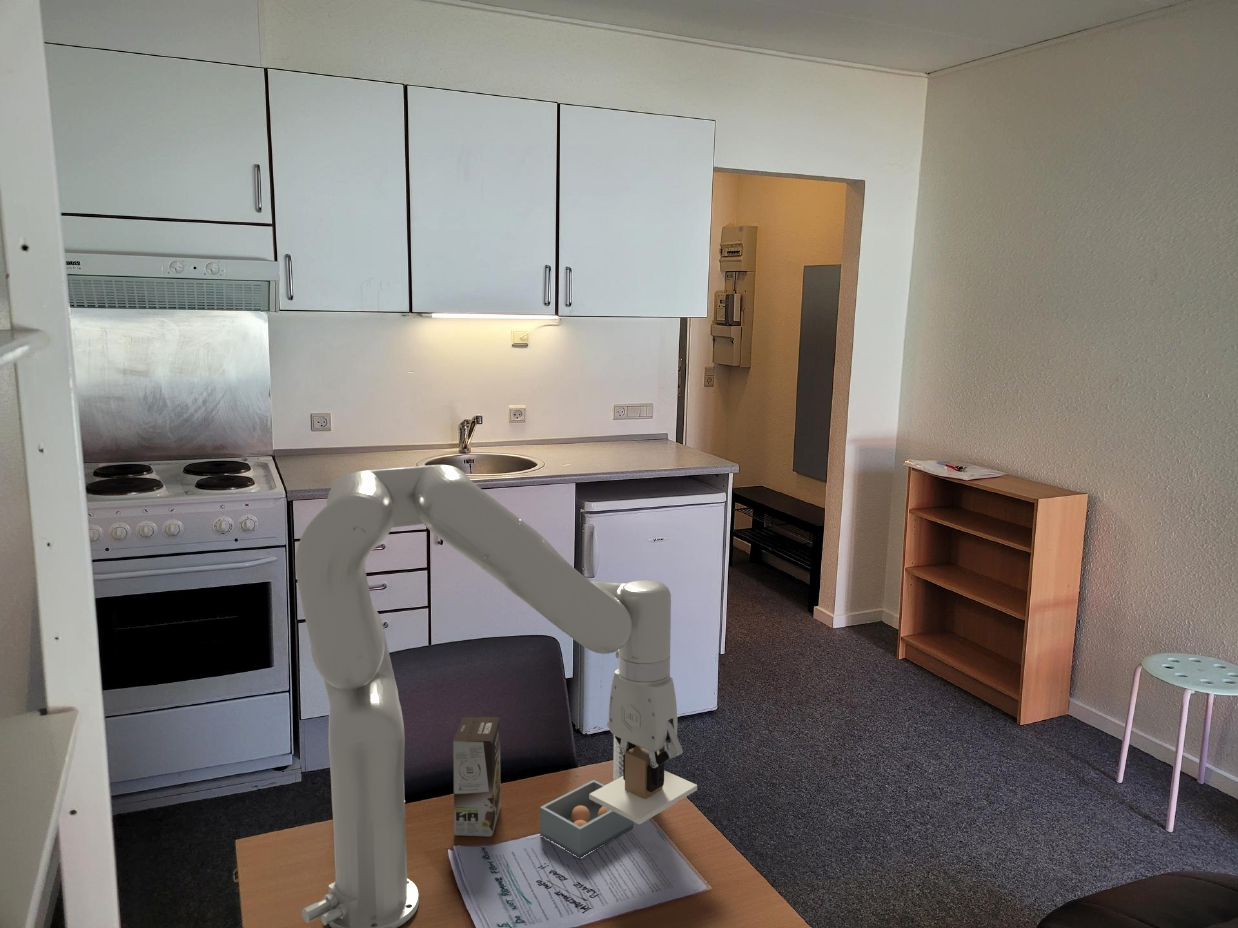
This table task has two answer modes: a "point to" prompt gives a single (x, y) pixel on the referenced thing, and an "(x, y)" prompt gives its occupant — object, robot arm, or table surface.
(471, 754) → the coffee box
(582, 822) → the ball
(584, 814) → the ball
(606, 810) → the ball
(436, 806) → the table surface
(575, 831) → the box
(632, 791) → the lid
